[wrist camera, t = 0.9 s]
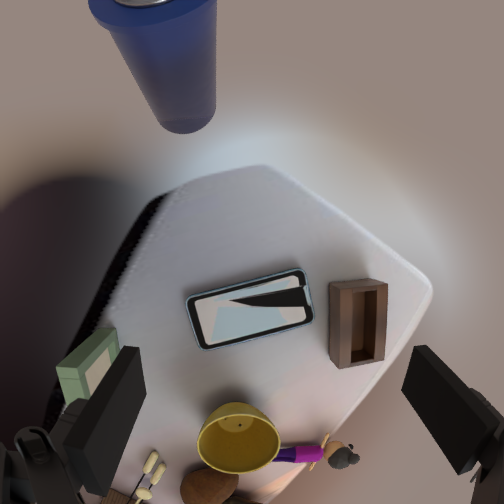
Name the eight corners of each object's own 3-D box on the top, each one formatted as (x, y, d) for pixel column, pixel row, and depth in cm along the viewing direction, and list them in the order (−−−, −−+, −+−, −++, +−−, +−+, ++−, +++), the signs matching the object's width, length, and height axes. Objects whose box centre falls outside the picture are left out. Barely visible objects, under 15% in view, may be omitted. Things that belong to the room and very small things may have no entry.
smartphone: (183, 297, 37) (304, 266, 38) (184, 295, 38) (302, 265, 39) (200, 353, 38) (316, 322, 39) (200, 350, 39) (314, 320, 40)
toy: (251, 463, 42) (338, 458, 44) (253, 490, 37) (346, 483, 39) (260, 425, 39) (359, 421, 41) (264, 456, 34) (370, 448, 35)
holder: (327, 282, 40) (340, 289, 35) (371, 278, 40) (388, 283, 36) (327, 356, 41) (338, 369, 36) (369, 348, 41) (384, 360, 37)
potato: (251, 488, 35) (213, 467, 35) (206, 528, 33) (168, 510, 32) (239, 465, 42) (205, 445, 41) (199, 503, 39) (165, 485, 38)
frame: (98, 328, 37) (55, 366, 24) (115, 328, 37) (76, 368, 25) (109, 382, 38) (76, 433, 25) (126, 382, 38) (97, 436, 25)
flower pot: (250, 373, 39) (256, 400, 32) (283, 424, 41) (294, 454, 33) (185, 404, 39) (180, 434, 32) (222, 451, 40) (224, 483, 33)
